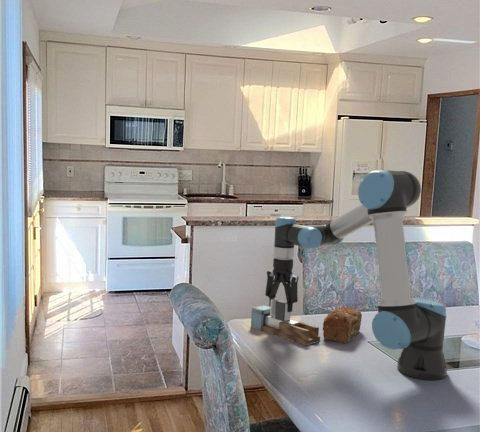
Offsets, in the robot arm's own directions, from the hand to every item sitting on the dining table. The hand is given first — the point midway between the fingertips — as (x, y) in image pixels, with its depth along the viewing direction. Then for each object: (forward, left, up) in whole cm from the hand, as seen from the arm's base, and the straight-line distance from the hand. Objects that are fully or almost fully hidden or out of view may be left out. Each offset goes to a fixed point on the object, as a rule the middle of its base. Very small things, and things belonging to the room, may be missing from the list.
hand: (280, 317), depth 213 cm
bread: (-9, -22, -6) cm, 25 cm away
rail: (-2, -1, -6) cm, 6 cm away
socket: (+8, +4, -6) cm, 10 cm away
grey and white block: (0, 0, -4) cm, 4 cm away
